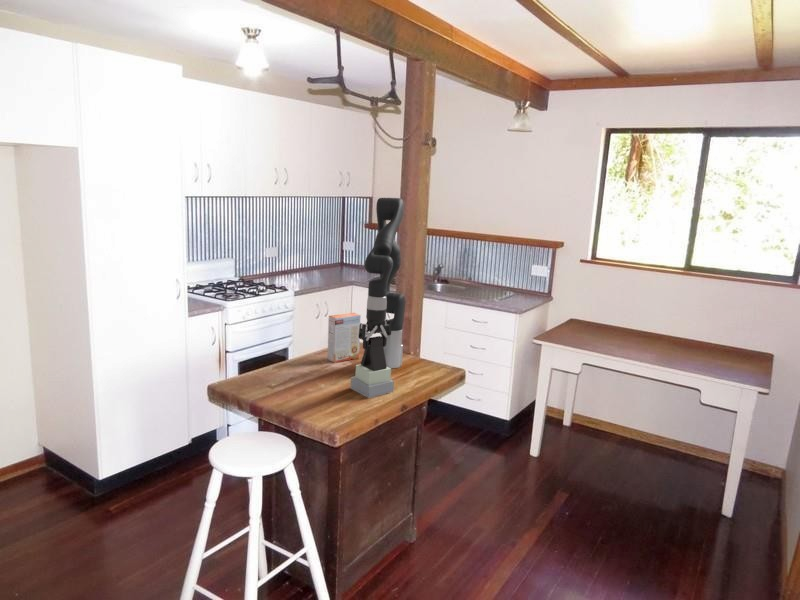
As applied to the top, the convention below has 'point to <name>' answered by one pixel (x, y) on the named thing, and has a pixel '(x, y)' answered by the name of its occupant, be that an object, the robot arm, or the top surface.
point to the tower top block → (372, 375)
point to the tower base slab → (371, 387)
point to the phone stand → (374, 355)
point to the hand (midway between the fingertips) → (374, 347)
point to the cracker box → (343, 337)
